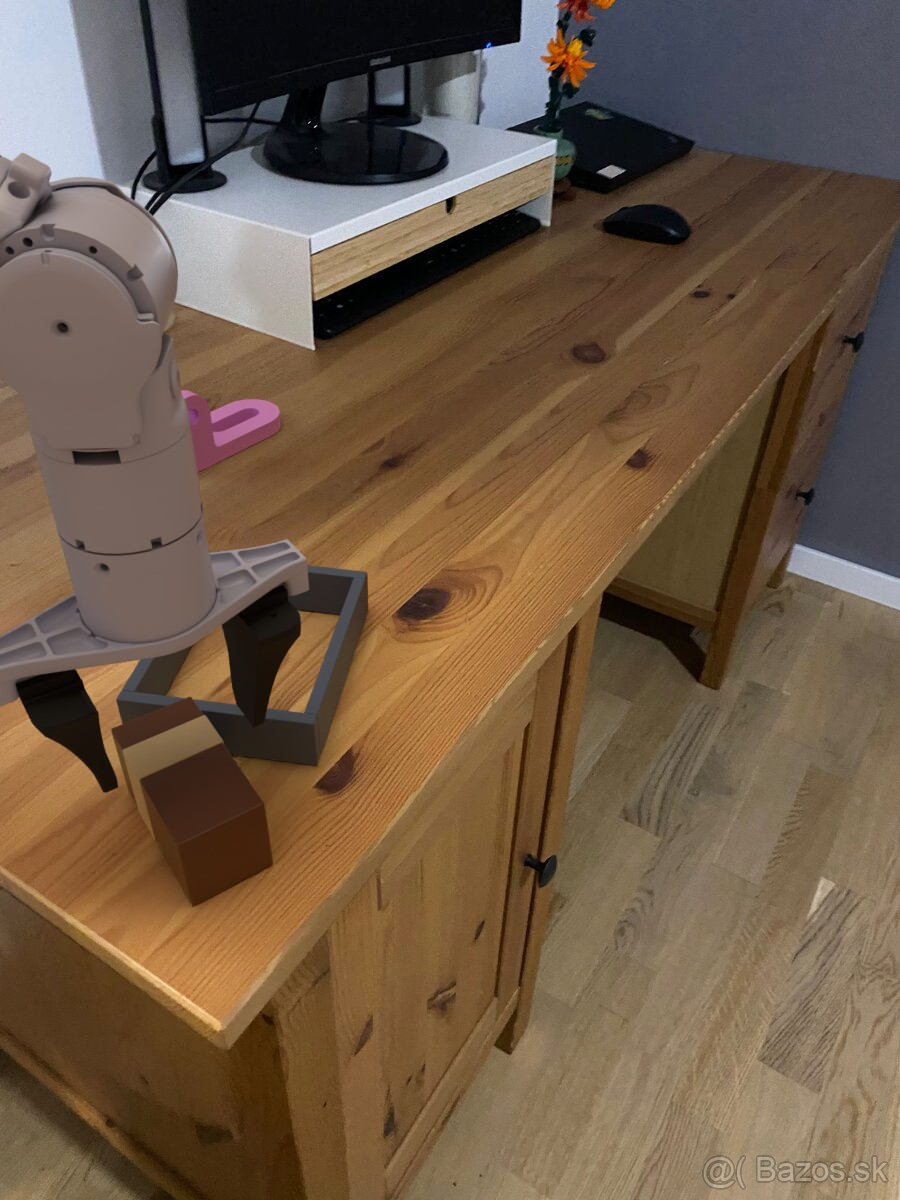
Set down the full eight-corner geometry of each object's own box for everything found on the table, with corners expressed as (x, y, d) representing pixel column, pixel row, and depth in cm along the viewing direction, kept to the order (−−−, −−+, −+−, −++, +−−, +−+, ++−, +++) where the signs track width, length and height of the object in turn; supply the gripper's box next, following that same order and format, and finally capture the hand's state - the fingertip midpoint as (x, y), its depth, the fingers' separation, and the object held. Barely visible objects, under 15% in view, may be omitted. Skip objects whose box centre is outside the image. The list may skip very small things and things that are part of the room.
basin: (126, 741, 54) (115, 699, 52) (210, 592, 65) (203, 553, 63) (317, 766, 53) (314, 724, 51) (368, 611, 64) (367, 571, 62)
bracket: (183, 479, 78) (171, 404, 73) (142, 457, 80) (127, 384, 76) (293, 424, 86) (287, 354, 81) (252, 407, 88) (244, 338, 84)
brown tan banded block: (191, 908, 46) (176, 845, 42) (126, 791, 51) (109, 728, 48) (274, 864, 48) (265, 802, 45) (203, 756, 53) (191, 694, 50)
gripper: (250, 430, 43) (274, 646, 51) (-85, 522, 36) (6, 754, 45) (324, 497, 39) (337, 722, 47) (-41, 616, 32) (51, 854, 40)
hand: (180, 744), depth 45 cm, fingers open, 7 cm apart
